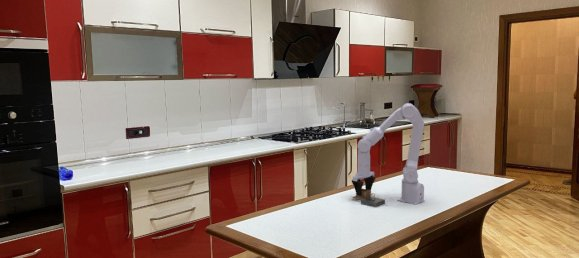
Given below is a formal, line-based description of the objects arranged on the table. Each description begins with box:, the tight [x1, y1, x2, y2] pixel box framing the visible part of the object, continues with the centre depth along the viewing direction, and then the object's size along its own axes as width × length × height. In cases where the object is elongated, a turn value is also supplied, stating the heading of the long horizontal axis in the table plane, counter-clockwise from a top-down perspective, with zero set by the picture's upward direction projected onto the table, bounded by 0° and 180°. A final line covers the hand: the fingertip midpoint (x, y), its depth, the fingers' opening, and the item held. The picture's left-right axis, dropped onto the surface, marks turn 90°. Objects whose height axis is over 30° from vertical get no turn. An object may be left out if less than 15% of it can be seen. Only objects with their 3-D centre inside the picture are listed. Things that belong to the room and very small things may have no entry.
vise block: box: [360, 192, 386, 208], centre depth 190 cm, size 8×7×4 cm
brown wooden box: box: [355, 188, 372, 198], centre depth 199 cm, size 5×5×3 cm
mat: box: [352, 195, 363, 201], centre depth 200 cm, size 7×7×1 cm
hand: (363, 193), depth 199 cm, fingers open, 7 cm apart
